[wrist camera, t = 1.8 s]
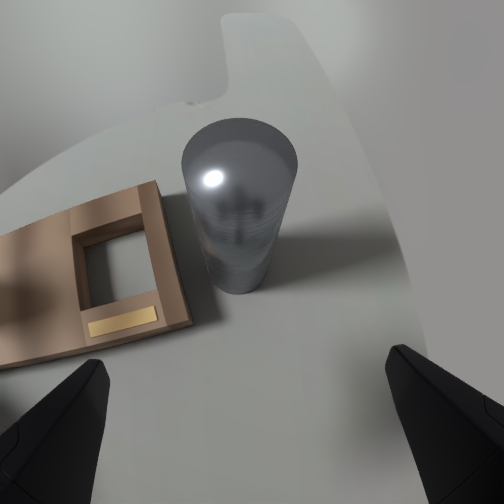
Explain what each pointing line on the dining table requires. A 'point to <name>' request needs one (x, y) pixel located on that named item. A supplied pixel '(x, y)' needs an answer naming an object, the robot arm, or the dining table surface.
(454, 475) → the robot arm
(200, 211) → the cylinder
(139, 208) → the wooden slotted holder
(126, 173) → the dining table surface
